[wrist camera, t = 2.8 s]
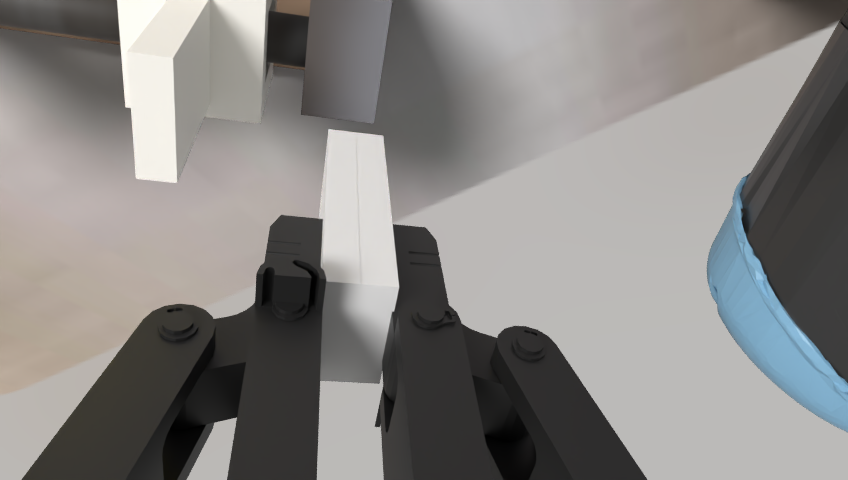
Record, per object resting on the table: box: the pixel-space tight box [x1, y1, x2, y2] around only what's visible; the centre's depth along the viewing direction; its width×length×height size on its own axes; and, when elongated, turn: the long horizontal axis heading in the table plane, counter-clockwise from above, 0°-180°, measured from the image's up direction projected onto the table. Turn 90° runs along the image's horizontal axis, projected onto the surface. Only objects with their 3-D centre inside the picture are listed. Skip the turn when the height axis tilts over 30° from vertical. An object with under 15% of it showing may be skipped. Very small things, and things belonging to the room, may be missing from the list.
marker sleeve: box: [117, 0, 277, 183], centre depth 24 cm, size 5×5×11 cm
